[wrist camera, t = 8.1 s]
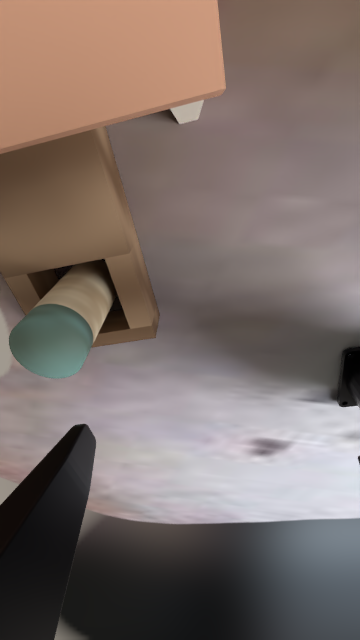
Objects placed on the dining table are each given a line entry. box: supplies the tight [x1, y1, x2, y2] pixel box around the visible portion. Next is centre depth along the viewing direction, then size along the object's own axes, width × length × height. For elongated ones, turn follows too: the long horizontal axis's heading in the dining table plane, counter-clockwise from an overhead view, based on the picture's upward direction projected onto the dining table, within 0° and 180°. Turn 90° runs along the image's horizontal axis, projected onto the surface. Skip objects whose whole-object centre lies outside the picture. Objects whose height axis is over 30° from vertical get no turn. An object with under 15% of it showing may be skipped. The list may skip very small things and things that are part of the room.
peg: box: [9, 260, 117, 378], centre depth 17 cm, size 4×4×8 cm
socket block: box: [0, 126, 160, 347], centre depth 17 cm, size 16×8×3 cm, turn 12°
